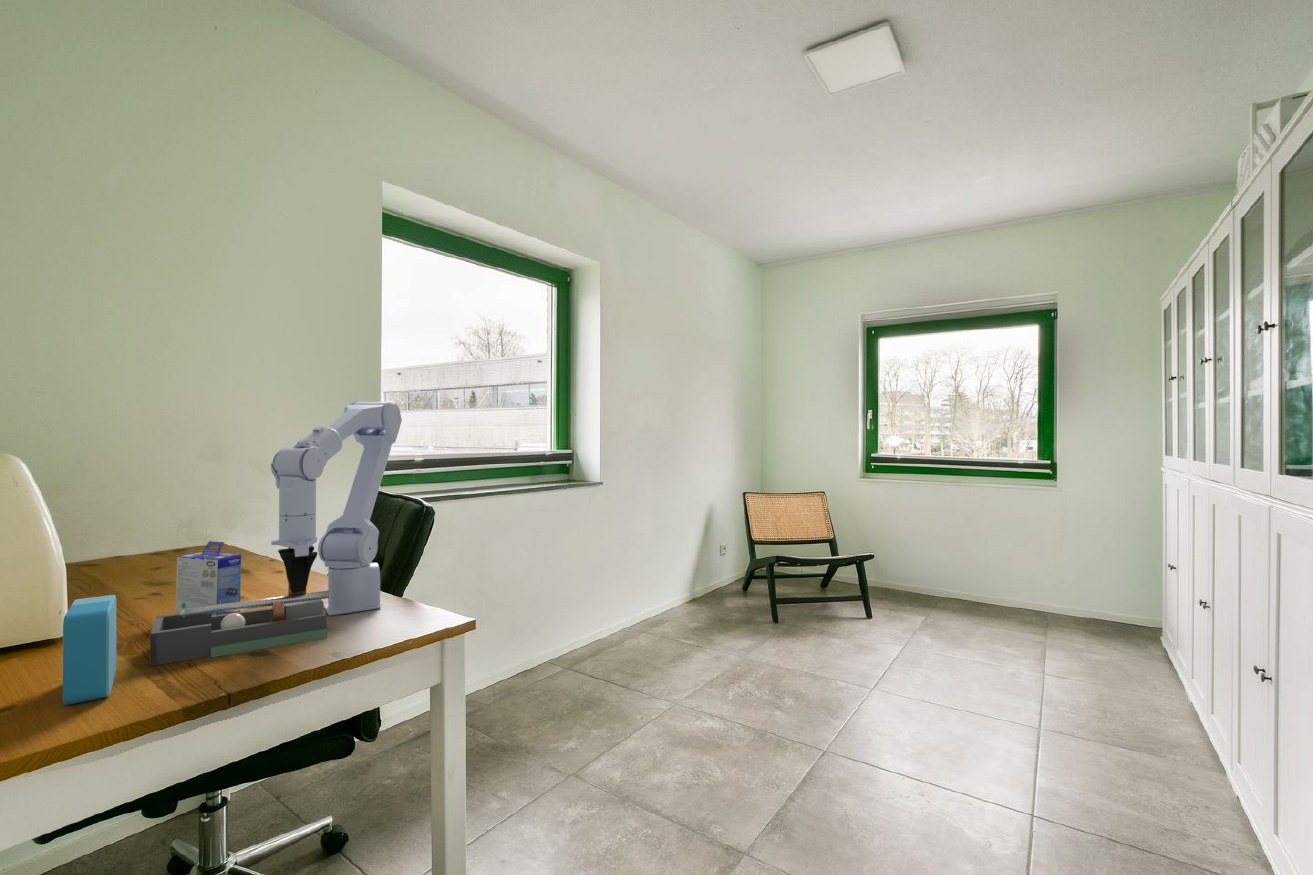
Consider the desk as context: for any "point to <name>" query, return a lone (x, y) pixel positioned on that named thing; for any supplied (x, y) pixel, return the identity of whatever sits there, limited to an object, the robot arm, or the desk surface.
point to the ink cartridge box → (208, 579)
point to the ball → (232, 621)
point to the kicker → (258, 604)
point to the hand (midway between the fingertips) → (297, 589)
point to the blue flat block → (89, 649)
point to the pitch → (234, 632)
